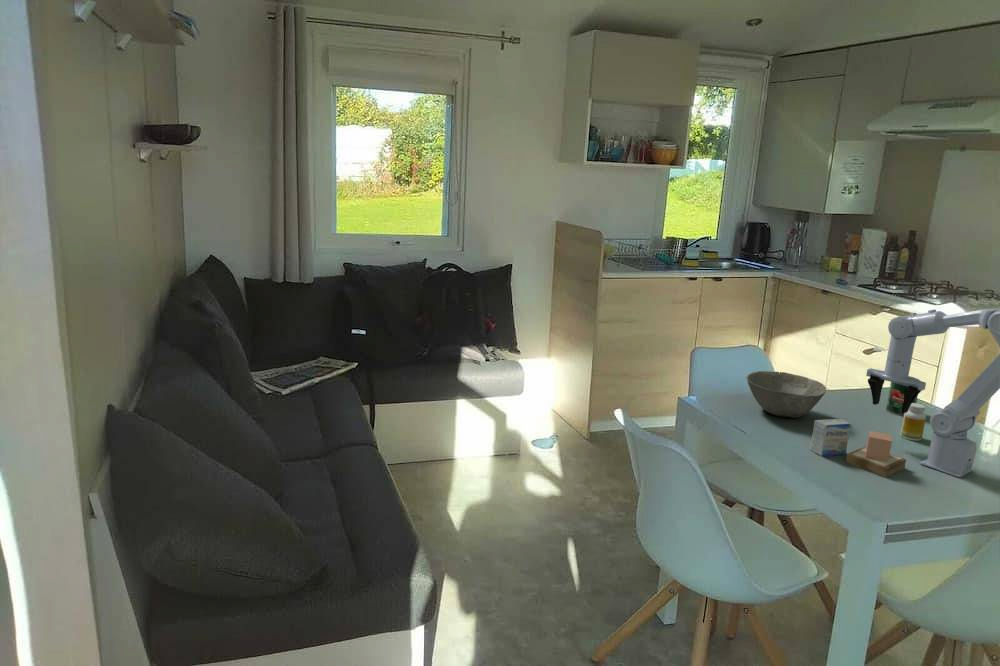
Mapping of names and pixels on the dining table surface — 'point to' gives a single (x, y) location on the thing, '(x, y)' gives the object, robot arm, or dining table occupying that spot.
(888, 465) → the walnut plinth
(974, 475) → the dining table surface
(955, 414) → the robot arm
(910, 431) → the supplement bottle
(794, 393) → the ceramic bowl
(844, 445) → the medicine box
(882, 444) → the block
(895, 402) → the canned tomato
